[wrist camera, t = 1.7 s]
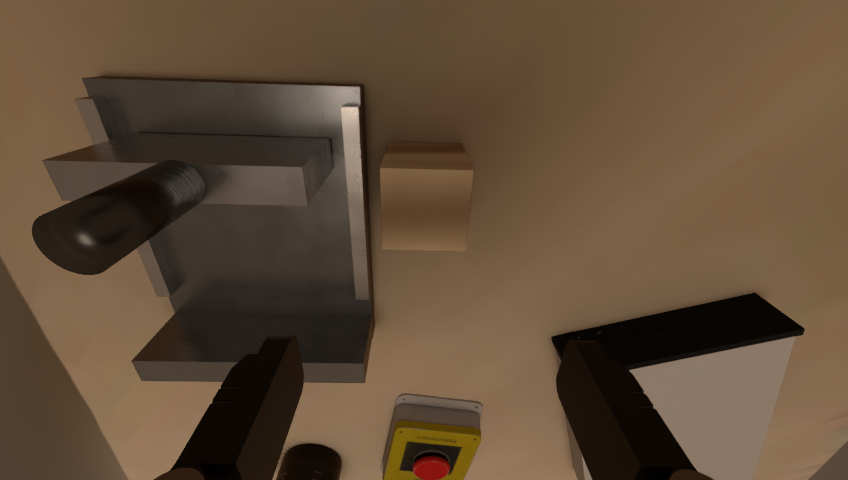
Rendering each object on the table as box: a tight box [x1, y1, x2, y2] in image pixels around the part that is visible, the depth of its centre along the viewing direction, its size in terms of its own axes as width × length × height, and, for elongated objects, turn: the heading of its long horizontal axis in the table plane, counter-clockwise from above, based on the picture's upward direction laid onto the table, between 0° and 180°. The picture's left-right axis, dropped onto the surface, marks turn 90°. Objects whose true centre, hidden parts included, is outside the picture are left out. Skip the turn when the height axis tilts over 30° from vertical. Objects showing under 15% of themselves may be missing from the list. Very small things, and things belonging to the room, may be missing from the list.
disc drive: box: [551, 293, 805, 480], centre depth 35 cm, size 18×22×5 cm
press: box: [75, 76, 375, 383], centre depth 24 cm, size 20×16×6 cm
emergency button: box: [381, 393, 483, 480], centre depth 39 cm, size 9×4×15 cm
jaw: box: [32, 133, 333, 275], centre depth 17 cm, size 2×12×12 cm, turn 88°
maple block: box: [380, 142, 474, 251], centre depth 23 cm, size 5×5×6 cm
